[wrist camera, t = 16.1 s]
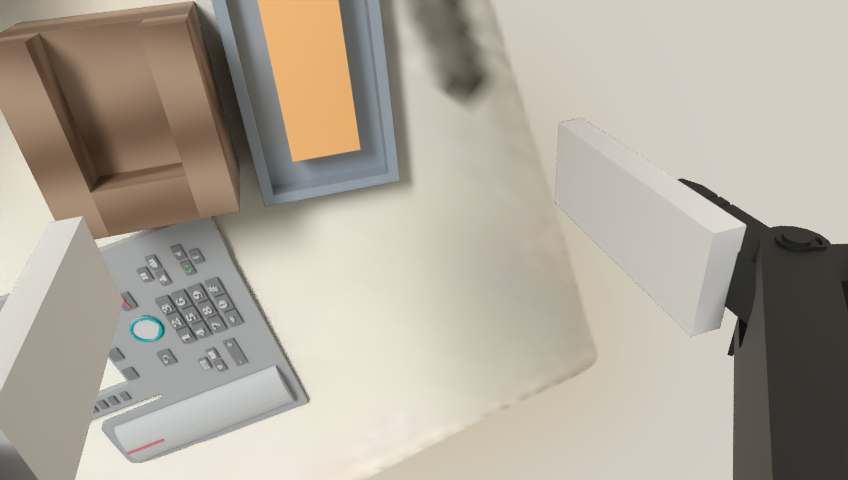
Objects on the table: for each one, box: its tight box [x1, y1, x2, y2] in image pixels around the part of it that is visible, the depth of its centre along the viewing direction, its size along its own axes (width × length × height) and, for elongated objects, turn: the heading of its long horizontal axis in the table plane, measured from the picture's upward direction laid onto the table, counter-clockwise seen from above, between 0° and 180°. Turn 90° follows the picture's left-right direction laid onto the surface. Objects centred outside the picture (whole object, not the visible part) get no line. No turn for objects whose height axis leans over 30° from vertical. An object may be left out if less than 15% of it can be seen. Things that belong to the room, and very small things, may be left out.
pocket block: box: [0, 1, 240, 239], centre depth 37 cm, size 12×11×8 cm
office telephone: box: [0, 217, 307, 463], centre depth 50 cm, size 23×3×20 cm
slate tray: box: [212, 0, 400, 207], centre depth 39 cm, size 24×11×2 cm, turn 5°
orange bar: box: [257, 0, 360, 162], centre depth 38 cm, size 16×5×2 cm, turn 4°
